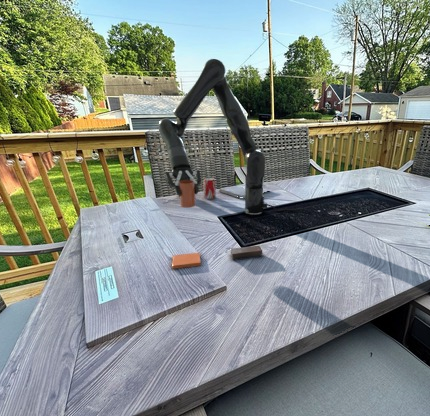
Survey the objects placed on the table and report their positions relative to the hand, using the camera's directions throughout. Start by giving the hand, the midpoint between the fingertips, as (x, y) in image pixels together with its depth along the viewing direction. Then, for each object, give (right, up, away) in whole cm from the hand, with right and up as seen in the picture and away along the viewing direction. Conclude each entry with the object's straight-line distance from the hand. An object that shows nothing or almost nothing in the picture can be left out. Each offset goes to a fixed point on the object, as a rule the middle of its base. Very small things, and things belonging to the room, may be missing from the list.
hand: (188, 194), depth 105 cm
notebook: (+16, +5, +72) cm, 74 cm away
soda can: (-5, +1, +56) cm, 56 cm away
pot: (-1, -4, +3) cm, 6 cm away
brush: (+24, -23, -8) cm, 35 cm away
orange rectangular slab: (+4, -24, -14) cm, 28 cm away
